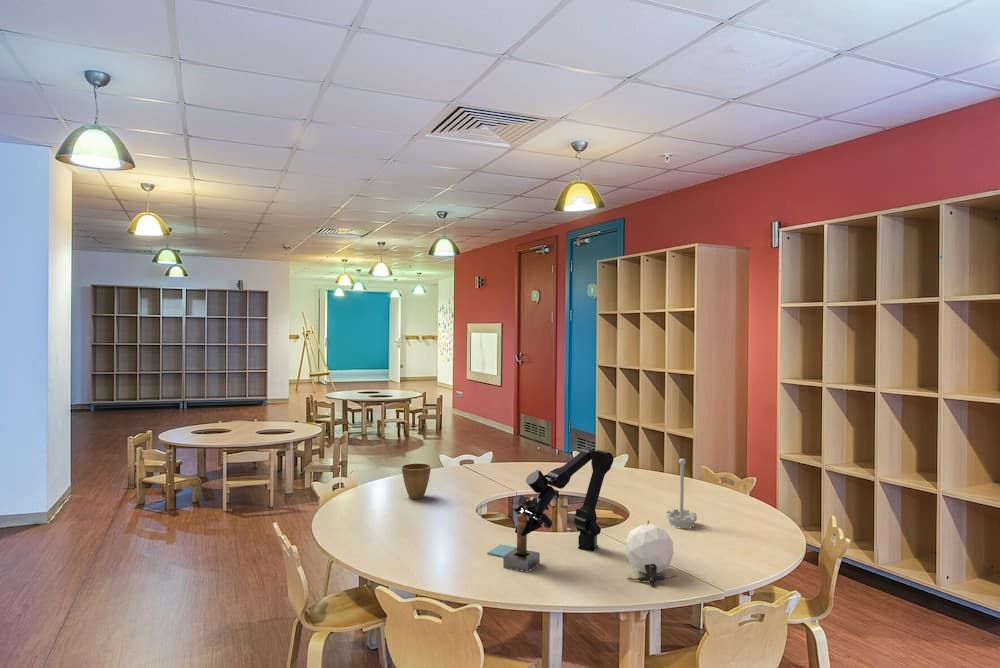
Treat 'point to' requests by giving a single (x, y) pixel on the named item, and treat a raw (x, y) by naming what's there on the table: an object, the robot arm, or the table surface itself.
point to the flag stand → (681, 507)
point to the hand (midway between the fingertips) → (518, 534)
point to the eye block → (521, 560)
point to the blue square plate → (501, 550)
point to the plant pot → (416, 479)
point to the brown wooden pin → (521, 539)
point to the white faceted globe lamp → (649, 552)
